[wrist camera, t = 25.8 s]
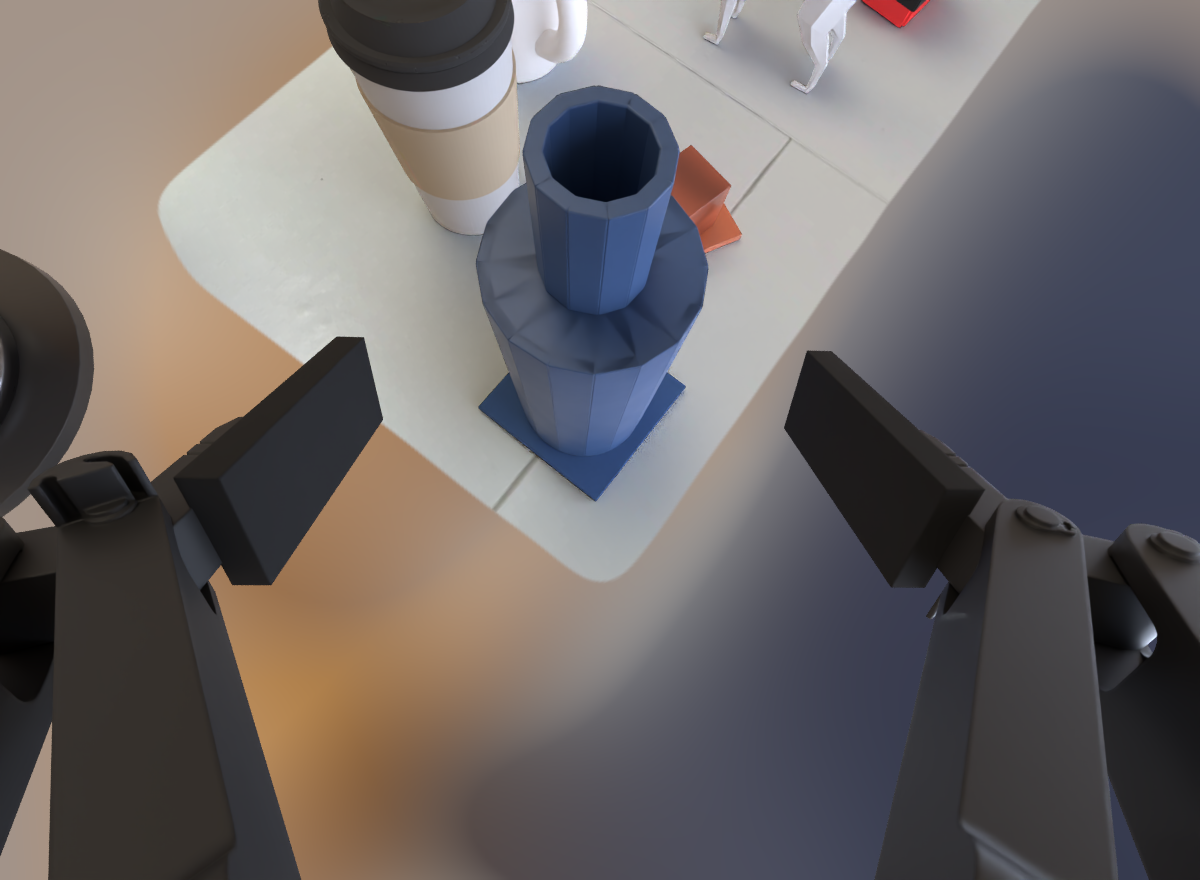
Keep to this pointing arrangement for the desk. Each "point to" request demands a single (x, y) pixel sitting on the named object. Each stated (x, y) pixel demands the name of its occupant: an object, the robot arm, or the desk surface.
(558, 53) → the mug
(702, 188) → the terracotta block
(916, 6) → the figurine
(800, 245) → the desk surface
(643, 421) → the blue mat
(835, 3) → the cat figurine
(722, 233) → the orange flat plate
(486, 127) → the coffee cup
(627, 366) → the blue bottle
